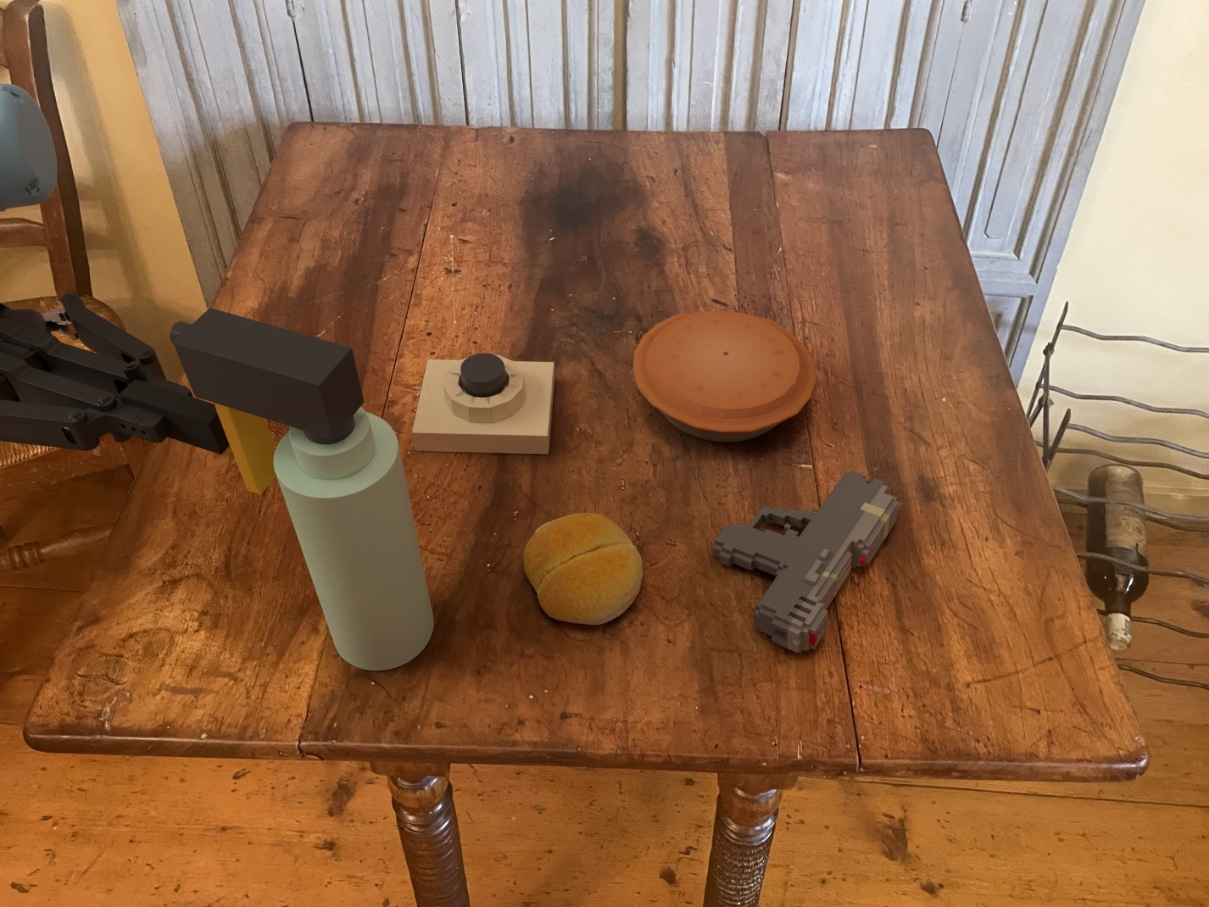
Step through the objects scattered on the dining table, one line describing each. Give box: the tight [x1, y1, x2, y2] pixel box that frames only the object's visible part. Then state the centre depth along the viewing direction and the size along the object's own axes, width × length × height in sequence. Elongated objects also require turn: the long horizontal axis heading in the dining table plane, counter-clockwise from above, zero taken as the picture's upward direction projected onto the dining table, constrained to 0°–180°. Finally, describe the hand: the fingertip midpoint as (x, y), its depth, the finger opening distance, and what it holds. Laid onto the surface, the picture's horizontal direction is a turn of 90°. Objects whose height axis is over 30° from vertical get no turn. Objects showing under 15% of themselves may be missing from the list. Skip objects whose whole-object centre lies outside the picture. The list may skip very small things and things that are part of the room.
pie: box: [632, 309, 817, 443], centre depth 84 cm, size 15×16×5 cm
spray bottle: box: [169, 307, 435, 672], centre depth 61 cm, size 12×7×25 cm, turn 69°
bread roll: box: [523, 512, 644, 626], centre depth 71 cm, size 8×9×4 cm
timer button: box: [460, 352, 506, 398], centre depth 81 cm, size 4×4×2 cm
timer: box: [411, 354, 556, 455], centre depth 83 cm, size 11×9×4 cm
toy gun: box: [712, 469, 903, 654], centre depth 73 cm, size 4×16×10 cm
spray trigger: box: [213, 403, 277, 496], centre depth 59 cm, size 1×2×8 cm, turn 159°
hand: (222, 431), depth 59 cm, fingers closed
